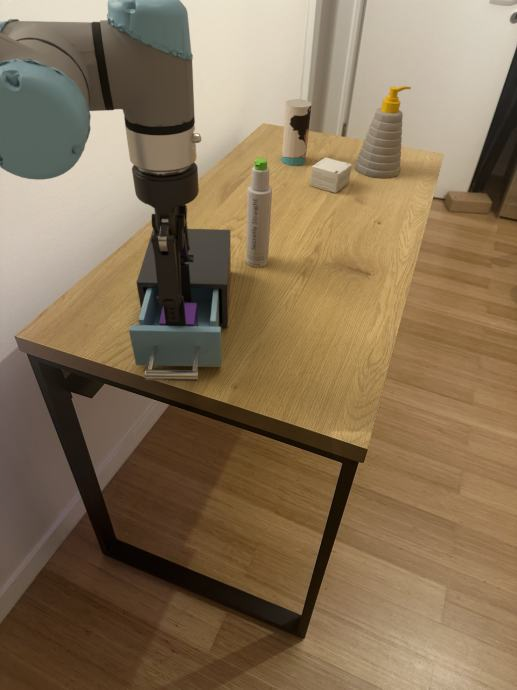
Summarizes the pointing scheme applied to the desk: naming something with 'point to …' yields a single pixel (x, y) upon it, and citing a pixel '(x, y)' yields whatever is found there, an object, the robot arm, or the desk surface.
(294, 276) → the desk surface
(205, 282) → the grey square box housing
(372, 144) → the soap bottle
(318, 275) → the desk surface
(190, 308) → the purple cube
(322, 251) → the desk surface
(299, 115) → the cup
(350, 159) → the desk surface
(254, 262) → the bottle
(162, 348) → the drawer
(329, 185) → the small box
